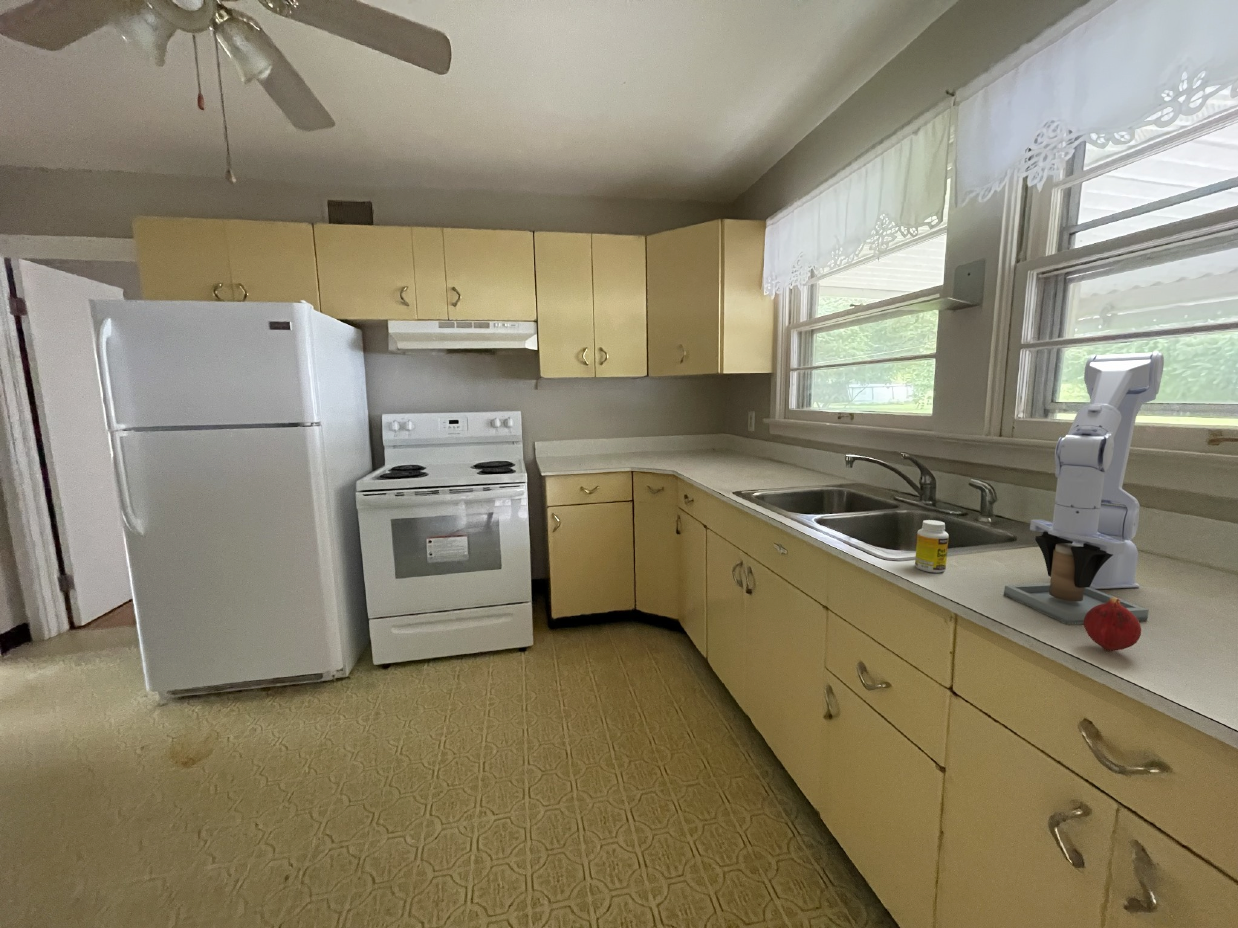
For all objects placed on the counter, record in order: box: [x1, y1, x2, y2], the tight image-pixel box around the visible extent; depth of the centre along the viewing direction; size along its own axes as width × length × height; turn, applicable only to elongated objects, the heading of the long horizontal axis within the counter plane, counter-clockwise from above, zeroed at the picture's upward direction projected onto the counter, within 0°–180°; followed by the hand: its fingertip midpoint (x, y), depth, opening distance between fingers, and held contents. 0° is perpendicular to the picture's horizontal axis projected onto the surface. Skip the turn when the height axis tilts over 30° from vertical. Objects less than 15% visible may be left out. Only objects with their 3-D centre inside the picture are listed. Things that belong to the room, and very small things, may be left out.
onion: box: [1083, 596, 1142, 652], centre depth 70 cm, size 6×6×8 cm
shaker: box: [1049, 543, 1084, 602], centre depth 85 cm, size 4×4×9 cm
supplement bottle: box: [914, 519, 950, 574], centre depth 104 cm, size 6×6×10 cm
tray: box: [1003, 582, 1150, 625], centre depth 85 cm, size 14×12×2 cm
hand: (1068, 581), depth 86 cm, fingers closed on shaker, 4 cm apart
